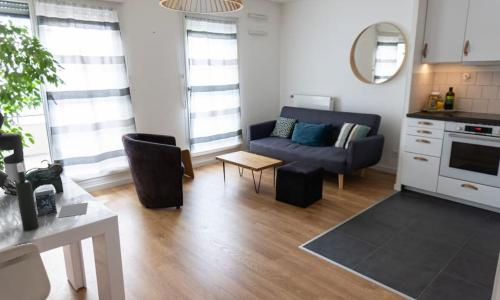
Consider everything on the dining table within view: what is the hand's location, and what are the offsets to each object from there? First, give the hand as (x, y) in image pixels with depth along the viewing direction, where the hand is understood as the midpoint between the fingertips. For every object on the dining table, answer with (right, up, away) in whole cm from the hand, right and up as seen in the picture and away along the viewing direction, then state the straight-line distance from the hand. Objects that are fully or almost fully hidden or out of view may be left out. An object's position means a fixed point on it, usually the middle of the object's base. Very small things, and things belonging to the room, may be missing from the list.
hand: (28, 197), depth 157 cm
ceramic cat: (-7, -3, +25) cm, 26 cm away
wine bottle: (+8, -12, -10) cm, 18 cm away
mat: (+17, -7, +8) cm, 20 cm away
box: (+6, -8, +5) cm, 12 cm away
